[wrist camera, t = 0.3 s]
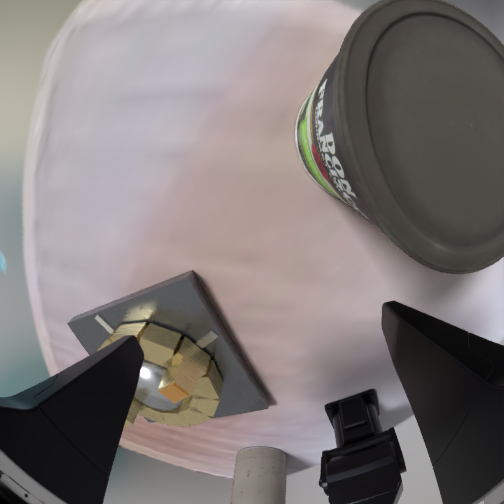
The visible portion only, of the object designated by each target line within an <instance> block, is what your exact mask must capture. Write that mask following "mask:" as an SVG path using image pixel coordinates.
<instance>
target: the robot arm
mask: <svg viewBox="0 0 504 504" xmlns="http://www.w3.org/2000/svg"><path fill="white" fill-rule="evenodd" d="M382 330H383V333H384V336H385V339H386V342H387V345H388V349H389V352H390V355H391V358H392V361H393V364H394V367H395V369H396V372H397V374H398V376H399V379H400V381H401V383H402V386H403V388H404V390H405V393H406V395H407V397H408V400H409V402H410V405H411V407H412V410H413V412H414V415H415V418H416V420H417V423H418V426H419V428H420V431H421V434H422V436H423V439H424V442H425V445H426V448H427V450H428V454H429V457H430V460H431V463H432V466H433V470H434V473H435V476H436V479H437V483H438V487H439V490H440V494H441V497H442V502H443V504H478V503H480V502H481V501H483V500H484V502H485V504H504V346H503V345H500V344H498V343H495V342H492V341H489V340H487V339H484V338H482V337H479V336H477V335H474V334H472V333H469V332H467V331H465V330H463V329H460V328H458V327H456V326H453V325H451V324H449V323H446V322H444V321H442V320H439V319H437V318H434V317H432V316H430V315H427V314H425V313H423V312H420V311H418V310H415V309H413V308H411V307H408V306H406V305H404V304H401V303H399V302H396V301H389V302H385V303H384V304H383V305H382ZM143 360H144V352H143V350H142V348H141V346H140V344H139V342H138V339H137V338H136V337H135V336H134V335H126V336H123V337H122V338H120V339H118V340H116V341H115V342H113V343H111V344H109V345H108V346H106V347H104V348H102V349H100V350H99V351H97V352H95V353H93V354H92V355H90V356H88V357H86V358H84V359H83V360H81V361H79V362H77V363H76V364H74V365H72V366H70V367H68V368H67V369H65V370H63V371H61V372H59V374H56V375H54V376H52V377H50V378H48V379H47V380H45V381H43V382H41V383H39V384H37V385H35V386H33V387H31V388H29V389H26V390H24V391H22V392H20V393H18V394H16V395H13V396H11V397H0V504H103V501H104V496H105V492H106V488H107V484H108V481H109V476H110V472H111V469H112V465H113V461H114V458H115V455H116V451H117V448H118V444H119V441H120V438H121V435H122V431H123V428H124V425H125V422H126V419H127V416H128V413H129V410H130V407H131V404H132V401H133V398H134V395H135V392H136V389H137V385H138V381H139V376H140V372H141V368H142V364H143ZM325 411H326V413H327V415H328V417H329V420H330V422H331V424H332V426H333V429H334V432H335V438H336V445H337V448H335V449H332V450H328V451H327V450H326V451H323V452H322V457H321V475H320V480H319V486H321V487H322V488H323V489H324V492H325V494H326V495H327V496H329V503H330V504H397V503H398V500H399V498H400V496H401V493H402V491H403V484H402V479H401V475H400V474H401V473H403V472H406V466H405V462H404V458H403V454H402V451H401V448H400V445H399V442H398V439H397V436H396V433H395V430H394V427H392V428H390V429H389V430H386V431H384V432H383V431H382V427H381V424H380V421H379V417H378V416H379V409H378V403H377V397H376V392H375V390H374V389H372V390H369V391H366V392H363V393H360V394H358V395H355V396H352V397H349V398H346V399H343V400H339V401H336V402H333V403H330V404H327V405H325Z"/></svg>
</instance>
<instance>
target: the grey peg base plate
mask: <svg viewBox="0 0 504 504" xmlns="http://www.w3.org/2000/svg"><path fill="white" fill-rule="evenodd" d="M144 322H146V323H147V325H149V324H150V323H152V324H155V325H157V326H160V327H163V328H166V329H168V330H171V331H174V332H177V333H180V334H182V335H181V340H182V339H183V338H184V337H185V336H186V337H187V338H188V339H189V340H191V341H192V342H193V343H194V344H195V345H197V346H198V347H199V348H200V349H201V350H203V351H204V352H205V353H206V354H208V355H209V356H210V357H211V358H210V360H213V361H214V363H215V365H216V368H217V370H218V372H219V374H220V377H221V379H222V381H223V383H222V384H223V387H222V391H221V396H220V401H219V403H218V406H217V409H216V411H215V414H214V416H213V417H212V418H214V417H222V416H229V415H236V414H242V413H247V412H253V411H258V410H263V409H268V406H269V399H268V397H267V396H266V394H265V392H264V391H263V389H262V388H261V386H260V385H259V383H258V382H257V380H256V378H255V377H254V375H253V374H252V372H251V370H250V369H249V367H248V366H247V364H246V362H245V361H244V359H243V358H242V356H241V354H240V353H239V351H238V349H237V348H236V346H235V344H234V343H233V341H232V339H231V338H230V336H229V334H228V332H227V331H226V329H225V327H224V326H223V324H222V322H221V320H220V319H219V317H218V315H217V313H216V312H215V310H214V308H213V306H212V305H211V303H210V301H209V299H208V297H207V296H206V294H205V292H204V290H203V288H202V286H201V285H200V283H199V281H198V279H197V277H196V275H195V273H194V272H193V270H192V271H189V272H186V273H184V274H181V275H179V276H176V277H174V278H171V279H169V280H166V281H164V282H161V283H158V284H156V285H153V286H151V287H148V288H146V289H143V290H141V291H138V292H136V293H133V294H131V295H128V296H126V297H123V298H121V299H118V300H116V301H113V302H111V303H108V304H105V305H103V306H100V307H98V308H95V309H93V310H90V311H88V312H85V313H83V314H80V315H78V316H75V317H73V318H72V319H71V320H70V321H69V322H68V323H67V324H68V325H69V327H70V328H71V330H72V331H73V333H74V334H75V336H76V337H77V339H78V340H79V341H80V343H81V344H82V346H83V347H84V348H85V350H86V351H87V352H88V354H89V355H92V354H93V353H95V352H97V350H98V349H99V348H100V346H101V345H102V344H103V343H104V341H105V340H106V339H107V338H108V337H109V336H110V334H111V333H112V332H113V331H114V330H115V329H116V328H117V327H118V326H120V325H123V324H134V323H144ZM166 370H167V368H166V367H164V366H161V365H158V364H155V363H153V362H150V361H148V360H145V359H144V360H143V364H142V368H141V372H140V376H139V381H138V385H137V389H136V392H135V395H134V397H135V398H136V399H138V400H139V401H141V402H142V403H144V404H146V405H148V406H150V407H153V408H156V409H161V410H171V409H175V408H177V407H178V406H179V405H180V404H181V402H182V400H181V401H179V402H178V403H176V404H175V403H173V402H172V401H170V400H169V399H168V398H166V397H165V396H163V395H162V394H161V393H159V392H158V391H157V390H158V387H159V385H160V383H161V381H162V379H163V376H164V374H165V372H166ZM144 418H145V417H144ZM145 419H146V420H147V421H148V422H156V421H153V420H150V419H148V418H145Z"/></svg>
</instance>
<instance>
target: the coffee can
mask: <svg viewBox="0 0 504 504" xmlns="http://www.w3.org/2000/svg"><path fill="white" fill-rule="evenodd" d="M295 141H296V147H297V151H298V155H299V158H300V161H301V163H302V165H303V167H304V168H305V170H306V172H307V173H308V174H309V176H310V177H311V178H312V179H313V181H314V182H315V183H317V184H318V185H319V186H320V187H321V188H322V189H323V190H325V191H326V192H328V193H330V194H331V195H333V196H335V197H337V198H339V199H340V200H342V201H343V202H345V203H346V204H348V205H349V206H350V207H352V208H353V209H355V210H356V211H358V212H359V213H360V214H362V215H363V216H364V217H366V218H367V219H368V220H370V221H371V222H372V223H374V224H375V225H377V226H378V227H379V228H380V229H381V230H382V231H383V232H384V233H385V234H386V235H387V236H388V237H389V238H390V239H391V240H392V241H393V242H394V243H395V244H396V245H397V246H398V247H399V248H400V249H402V250H403V251H404V252H405V253H406V254H408V255H409V256H410V257H412V258H413V259H414V260H416V261H418V262H419V263H421V264H422V265H424V266H426V267H429V268H431V269H434V270H437V271H440V272H445V273H452V274H466V273H472V272H476V271H479V270H482V269H484V268H486V267H489V266H490V265H492V264H494V263H496V262H497V261H499V260H500V259H501V258H502V257H504V45H503V44H502V43H501V42H500V41H499V40H498V38H497V37H496V36H495V35H494V34H493V33H492V32H490V30H489V29H488V28H487V27H485V26H484V25H483V24H482V23H481V22H479V21H478V20H476V19H475V18H473V17H472V16H471V15H470V14H468V13H467V12H465V11H463V10H462V9H460V8H458V7H456V6H455V5H453V4H450V3H448V2H446V1H443V0H380V1H378V2H377V3H375V4H373V5H371V6H370V7H368V8H367V9H366V10H365V11H364V12H363V13H362V14H361V15H360V16H359V17H358V18H357V19H356V20H355V22H354V23H353V25H352V26H351V28H350V29H349V31H348V33H347V35H346V37H345V39H344V41H343V43H342V46H341V48H340V52H339V54H338V55H337V56H336V57H335V59H334V61H333V62H332V64H331V65H330V67H329V68H328V69H327V71H326V72H325V74H324V76H323V77H322V79H321V80H320V82H319V83H318V85H317V86H316V88H315V89H314V90H313V92H312V93H311V94H310V95H309V97H308V98H307V99H306V100H305V102H304V103H303V105H302V107H301V109H300V111H299V113H298V117H297V121H296V126H295Z"/></svg>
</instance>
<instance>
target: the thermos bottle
mask: <svg viewBox="0 0 504 504" xmlns="http://www.w3.org/2000/svg"><path fill="white" fill-rule="evenodd" d="M285 495H286V454H285V453H284V452H283V451H281V450H278V449H275V448H271V447H249V448H245V449H242V450H240V451H239V452H238V453H237V457H236V464H235V471H234V479H233V486H232V493H231V502H230V504H285Z"/></svg>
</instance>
